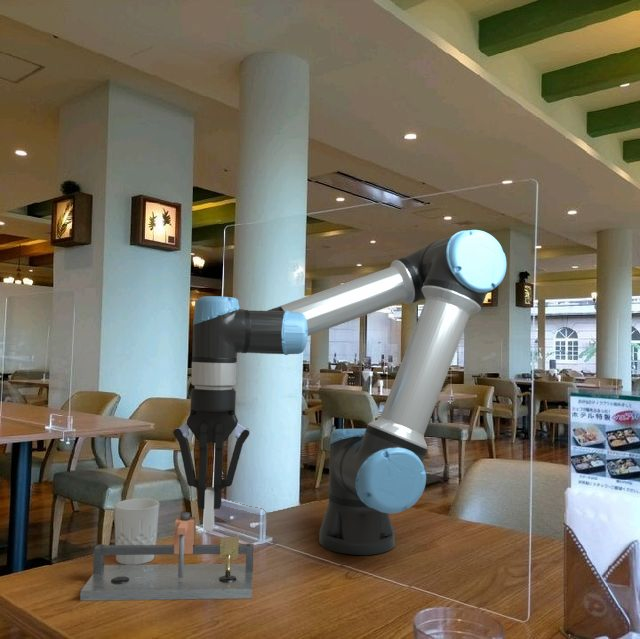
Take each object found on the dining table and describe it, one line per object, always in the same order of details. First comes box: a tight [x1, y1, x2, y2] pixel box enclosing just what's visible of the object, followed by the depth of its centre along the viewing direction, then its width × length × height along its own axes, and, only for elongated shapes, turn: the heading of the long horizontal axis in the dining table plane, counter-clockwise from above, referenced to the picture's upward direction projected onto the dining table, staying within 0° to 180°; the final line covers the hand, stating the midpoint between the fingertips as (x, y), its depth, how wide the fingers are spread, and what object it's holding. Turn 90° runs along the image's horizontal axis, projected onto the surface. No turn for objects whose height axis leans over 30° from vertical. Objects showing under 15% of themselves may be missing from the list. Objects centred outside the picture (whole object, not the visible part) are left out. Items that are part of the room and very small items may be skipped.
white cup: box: [114, 497, 160, 565], centre depth 114 cm, size 8×8×10 cm
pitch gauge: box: [79, 536, 255, 602], centre depth 102 cm, size 26×11×7 cm, turn 95°
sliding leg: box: [173, 511, 196, 578], centre depth 103 cm, size 3×7×9 cm, turn 5°
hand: (208, 527), depth 105 cm, fingers closed
